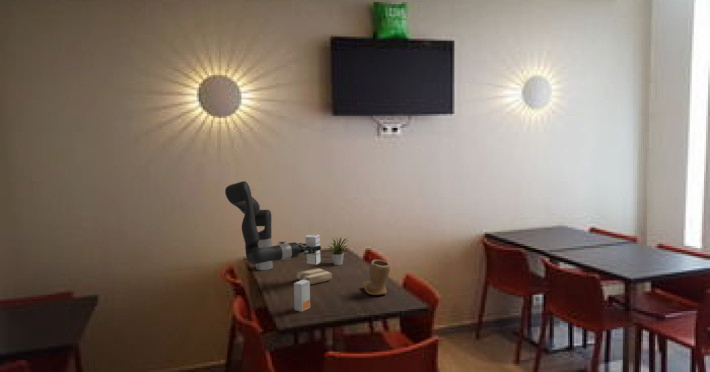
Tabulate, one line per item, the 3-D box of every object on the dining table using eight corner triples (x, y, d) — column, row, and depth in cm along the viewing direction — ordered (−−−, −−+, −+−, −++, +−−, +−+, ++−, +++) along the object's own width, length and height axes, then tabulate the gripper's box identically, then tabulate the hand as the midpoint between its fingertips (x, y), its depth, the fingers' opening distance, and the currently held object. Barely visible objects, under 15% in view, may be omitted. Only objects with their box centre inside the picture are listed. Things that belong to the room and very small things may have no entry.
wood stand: (297, 280, 252) (296, 272, 251) (318, 275, 259) (318, 267, 259) (309, 286, 241) (309, 278, 241) (332, 281, 249) (331, 273, 248)
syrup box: (320, 262, 251) (320, 234, 249) (316, 265, 245) (315, 236, 244) (310, 261, 253) (309, 233, 251) (305, 264, 247) (305, 236, 246)
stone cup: (392, 295, 224) (392, 264, 223) (367, 297, 223) (366, 265, 221) (386, 285, 239) (385, 255, 238) (362, 287, 237) (361, 257, 236)
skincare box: (302, 312, 206) (301, 284, 205) (294, 310, 209) (293, 283, 207) (310, 307, 211) (309, 280, 210) (303, 306, 214) (302, 279, 212)
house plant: (357, 262, 283) (356, 234, 281) (344, 268, 271) (343, 239, 270) (336, 259, 291) (336, 232, 289) (323, 265, 279) (322, 237, 277)
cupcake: (274, 256, 301) (273, 240, 300) (290, 255, 302) (289, 239, 301) (273, 260, 292) (272, 244, 291) (289, 259, 293) (289, 243, 292)
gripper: (294, 246, 234) (323, 241, 243) (280, 241, 245) (309, 236, 255) (294, 261, 235) (323, 256, 244) (281, 255, 246) (309, 250, 256)
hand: (316, 246), depth 249 cm, fingers closed on syrup box, 8 cm apart
